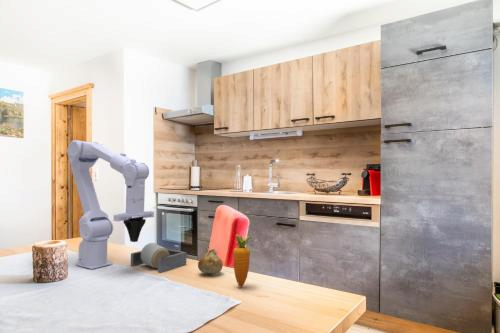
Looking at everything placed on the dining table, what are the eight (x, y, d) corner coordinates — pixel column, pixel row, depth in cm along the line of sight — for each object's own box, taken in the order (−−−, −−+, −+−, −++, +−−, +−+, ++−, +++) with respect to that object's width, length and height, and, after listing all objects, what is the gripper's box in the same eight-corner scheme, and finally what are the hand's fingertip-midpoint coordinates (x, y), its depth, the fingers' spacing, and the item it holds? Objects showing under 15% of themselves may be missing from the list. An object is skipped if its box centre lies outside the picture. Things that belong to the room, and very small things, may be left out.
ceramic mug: (151, 271, 110) (152, 247, 110) (139, 266, 115) (140, 243, 116) (179, 266, 117) (179, 244, 118) (166, 261, 123) (167, 240, 123)
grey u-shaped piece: (130, 266, 115) (130, 253, 116) (157, 258, 126) (157, 247, 126) (160, 272, 108) (160, 259, 108) (186, 264, 119) (186, 252, 119)
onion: (194, 272, 109) (194, 248, 109) (217, 270, 113) (217, 246, 113) (202, 279, 102) (202, 253, 102) (226, 276, 106) (226, 250, 106)
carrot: (251, 285, 97) (252, 233, 97) (246, 291, 92) (247, 236, 93) (235, 283, 99) (237, 232, 99) (229, 288, 94) (230, 235, 94)
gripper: (124, 201, 101) (123, 246, 100) (160, 199, 113) (159, 239, 113) (109, 200, 105) (108, 243, 104) (146, 198, 117) (145, 237, 117)
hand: (133, 241), depth 109 cm, fingers closed
